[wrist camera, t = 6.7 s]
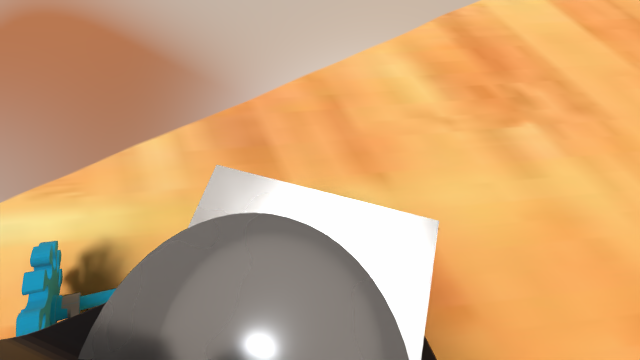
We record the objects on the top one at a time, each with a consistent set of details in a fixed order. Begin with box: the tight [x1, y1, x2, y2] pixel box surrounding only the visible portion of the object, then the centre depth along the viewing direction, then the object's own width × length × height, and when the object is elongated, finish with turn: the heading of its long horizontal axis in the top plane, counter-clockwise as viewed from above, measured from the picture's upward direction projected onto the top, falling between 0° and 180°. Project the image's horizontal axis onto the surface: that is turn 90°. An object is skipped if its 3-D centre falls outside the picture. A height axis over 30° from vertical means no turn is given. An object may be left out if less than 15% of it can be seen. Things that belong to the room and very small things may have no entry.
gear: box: [16, 241, 116, 337], centre depth 18 cm, size 11×6×10 cm
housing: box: [78, 165, 439, 360], centre depth 9 cm, size 7×6×13 cm
